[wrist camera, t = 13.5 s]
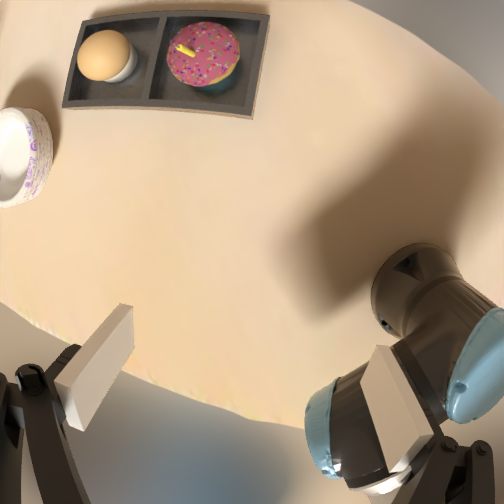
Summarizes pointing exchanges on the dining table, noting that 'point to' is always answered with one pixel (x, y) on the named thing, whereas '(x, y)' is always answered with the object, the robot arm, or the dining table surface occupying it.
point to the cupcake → (203, 53)
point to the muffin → (107, 57)
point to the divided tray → (157, 70)
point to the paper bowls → (23, 154)
